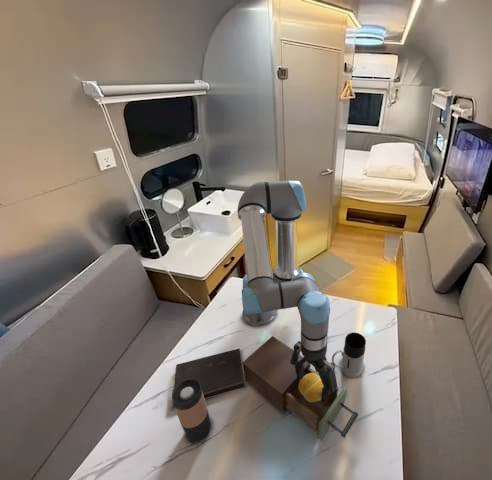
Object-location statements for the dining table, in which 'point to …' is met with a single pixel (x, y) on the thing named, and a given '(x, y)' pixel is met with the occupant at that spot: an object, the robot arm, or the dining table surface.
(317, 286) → the robot arm
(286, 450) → the dining table surface
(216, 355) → the hardcover book
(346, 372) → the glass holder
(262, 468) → the dining table surface
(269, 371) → the cabinet
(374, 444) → the dining table surface
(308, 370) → the drawer
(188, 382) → the travel mug
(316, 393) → the bread roll
